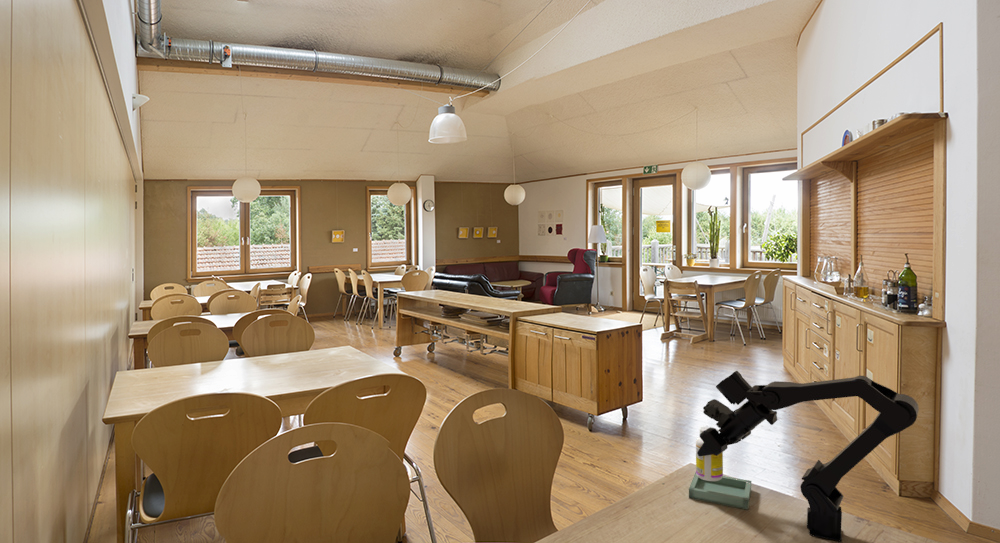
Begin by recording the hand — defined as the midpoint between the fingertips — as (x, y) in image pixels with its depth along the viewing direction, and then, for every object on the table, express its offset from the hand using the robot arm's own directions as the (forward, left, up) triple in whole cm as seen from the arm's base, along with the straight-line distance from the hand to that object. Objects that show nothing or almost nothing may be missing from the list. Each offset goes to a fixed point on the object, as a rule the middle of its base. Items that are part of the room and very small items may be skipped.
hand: (704, 451), depth 152 cm
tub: (-4, -3, -12) cm, 13 cm away
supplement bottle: (-1, +1, -7) cm, 7 cm away
